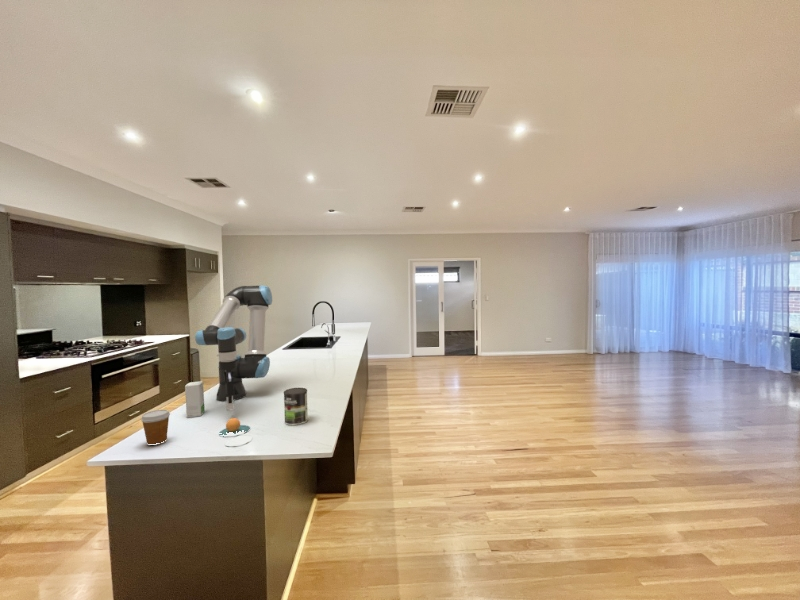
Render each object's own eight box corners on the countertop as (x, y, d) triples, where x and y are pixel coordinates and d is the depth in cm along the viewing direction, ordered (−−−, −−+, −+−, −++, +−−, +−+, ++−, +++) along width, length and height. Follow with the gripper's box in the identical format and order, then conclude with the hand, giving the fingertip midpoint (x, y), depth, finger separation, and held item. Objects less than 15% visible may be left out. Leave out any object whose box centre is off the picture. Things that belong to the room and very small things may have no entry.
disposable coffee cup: (146, 440, 139) (144, 411, 139) (173, 435, 143) (172, 407, 142) (138, 450, 130) (137, 419, 130) (168, 445, 134) (167, 415, 134)
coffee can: (299, 426, 149) (297, 394, 149) (279, 424, 153) (278, 393, 152) (312, 418, 159) (311, 388, 158) (294, 415, 162) (293, 386, 162)
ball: (230, 414, 148) (231, 417, 143) (242, 419, 150) (243, 422, 145) (222, 427, 146) (223, 430, 141) (235, 431, 148) (236, 435, 144)
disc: (229, 425, 152) (229, 425, 152) (255, 425, 152) (255, 425, 152) (212, 437, 140) (212, 436, 140) (241, 437, 140) (241, 436, 140)
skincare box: (200, 416, 165) (199, 384, 164) (185, 418, 163) (183, 386, 162) (205, 410, 173) (203, 380, 172) (190, 412, 171) (188, 381, 170)
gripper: (217, 358, 165) (220, 406, 166) (219, 364, 154) (222, 415, 155) (234, 356, 169) (237, 403, 170) (238, 361, 158) (240, 411, 159)
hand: (230, 409), depth 162 cm, fingers closed
